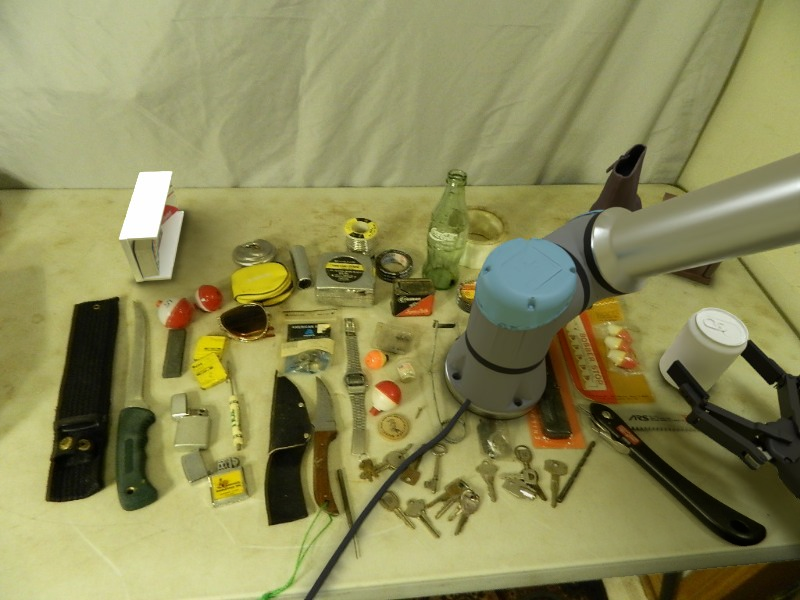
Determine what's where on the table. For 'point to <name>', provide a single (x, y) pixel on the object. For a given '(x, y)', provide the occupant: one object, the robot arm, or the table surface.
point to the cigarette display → (152, 227)
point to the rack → (700, 272)
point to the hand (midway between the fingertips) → (708, 355)
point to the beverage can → (706, 346)
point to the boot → (623, 182)
